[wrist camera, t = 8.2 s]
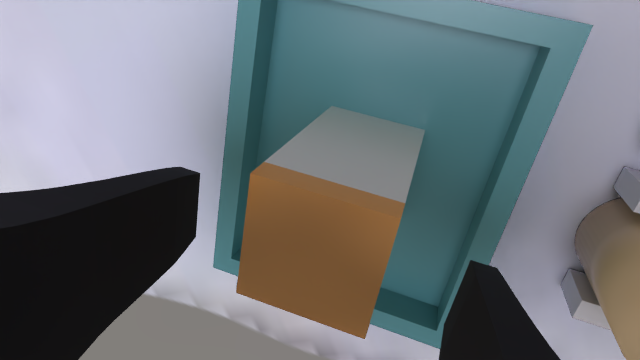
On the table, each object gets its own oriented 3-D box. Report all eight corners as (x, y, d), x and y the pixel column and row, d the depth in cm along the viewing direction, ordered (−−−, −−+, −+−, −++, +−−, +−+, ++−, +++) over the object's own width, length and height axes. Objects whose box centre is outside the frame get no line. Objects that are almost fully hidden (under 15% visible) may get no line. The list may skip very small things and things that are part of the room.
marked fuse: (425, 130, 16) (401, 218, 9) (400, 214, 17) (364, 339, 11) (331, 105, 16) (250, 173, 10) (315, 188, 18) (236, 292, 12)
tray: (575, 21, 14) (593, 25, 12) (451, 318, 19) (450, 352, 17) (268, -42, 16) (242, -47, 14) (235, 243, 21) (213, 267, 19)
